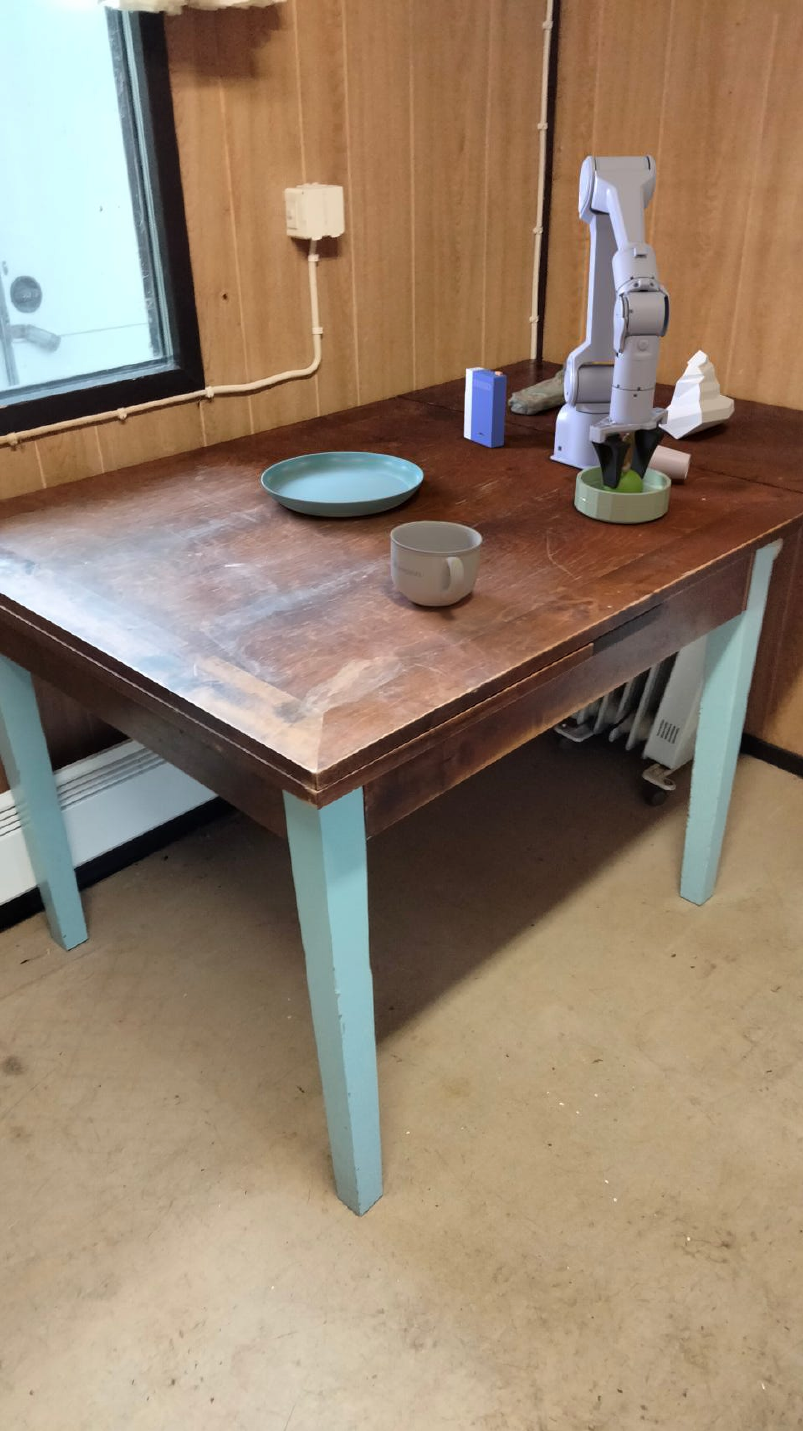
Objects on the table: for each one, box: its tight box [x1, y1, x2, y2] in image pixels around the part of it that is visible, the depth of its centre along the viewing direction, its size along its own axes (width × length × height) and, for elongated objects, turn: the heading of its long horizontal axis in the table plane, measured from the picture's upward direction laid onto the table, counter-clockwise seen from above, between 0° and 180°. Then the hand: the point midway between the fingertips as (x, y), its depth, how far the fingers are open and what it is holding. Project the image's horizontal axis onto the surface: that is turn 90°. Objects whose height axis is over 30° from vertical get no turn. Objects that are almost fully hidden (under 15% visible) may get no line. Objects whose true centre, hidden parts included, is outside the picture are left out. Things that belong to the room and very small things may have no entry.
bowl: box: [573, 466, 672, 524], centre depth 149 cm, size 13×13×4 cm
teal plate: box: [260, 451, 424, 518], centre depth 155 cm, size 24×24×3 cm
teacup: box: [389, 520, 483, 607], centre depth 122 cm, size 14×11×8 cm
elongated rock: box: [507, 359, 603, 416], centre depth 203 cm, size 35×5×10 cm
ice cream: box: [658, 349, 735, 440], centre depth 180 cm, size 12×15×14 cm
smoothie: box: [648, 444, 692, 480], centre depth 160 cm, size 6×6×14 cm
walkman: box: [463, 366, 508, 449], centre depth 175 cm, size 8×3×12 cm, turn 33°
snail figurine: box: [604, 431, 643, 493], centre depth 147 cm, size 5×6×12 cm
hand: (623, 482), depth 148 cm, fingers closed on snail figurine, 5 cm apart
